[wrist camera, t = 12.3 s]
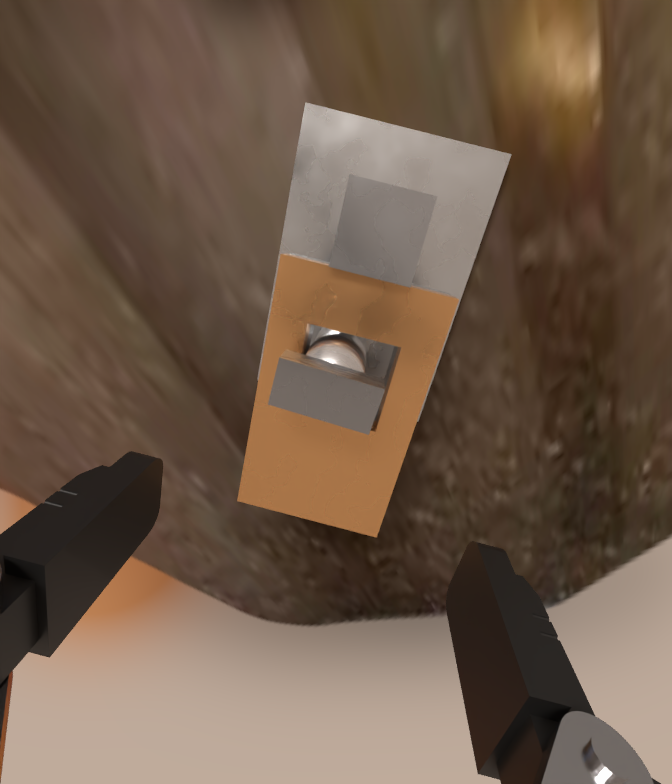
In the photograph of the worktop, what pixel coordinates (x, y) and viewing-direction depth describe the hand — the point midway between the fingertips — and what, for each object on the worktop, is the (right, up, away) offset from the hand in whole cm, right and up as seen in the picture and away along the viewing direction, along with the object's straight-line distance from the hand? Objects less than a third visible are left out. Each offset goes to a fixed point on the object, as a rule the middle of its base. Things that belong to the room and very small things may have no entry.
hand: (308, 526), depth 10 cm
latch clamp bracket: (+3, +10, +21) cm, 23 cm away
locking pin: (+1, +8, +21) cm, 22 cm away
